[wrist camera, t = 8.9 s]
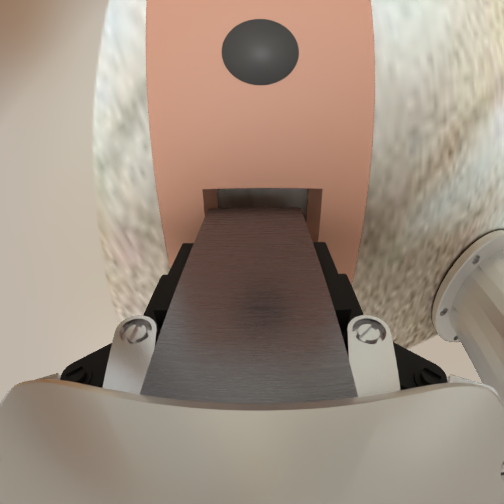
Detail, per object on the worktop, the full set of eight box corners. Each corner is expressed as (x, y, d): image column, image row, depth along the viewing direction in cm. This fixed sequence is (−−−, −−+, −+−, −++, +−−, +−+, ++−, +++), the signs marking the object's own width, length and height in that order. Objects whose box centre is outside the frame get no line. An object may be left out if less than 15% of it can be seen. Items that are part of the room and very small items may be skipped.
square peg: (208, 208, 12) (126, 440, 4) (300, 207, 12) (368, 445, 3) (215, 282, 14) (180, 486, 6) (295, 282, 14) (323, 488, 5)
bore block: (172, 6, 11) (147, -16, 7) (345, 4, 10) (368, -19, 7) (192, 271, 20) (178, 309, 16) (333, 271, 19) (346, 309, 16)
